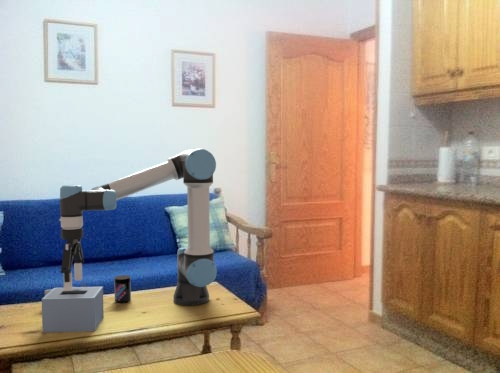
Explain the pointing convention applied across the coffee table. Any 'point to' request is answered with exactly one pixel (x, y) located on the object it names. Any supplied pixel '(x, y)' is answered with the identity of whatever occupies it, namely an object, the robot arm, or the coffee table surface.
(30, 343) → the coffee table surface
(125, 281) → the supplement container
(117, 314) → the coffee table surface
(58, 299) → the coin box
